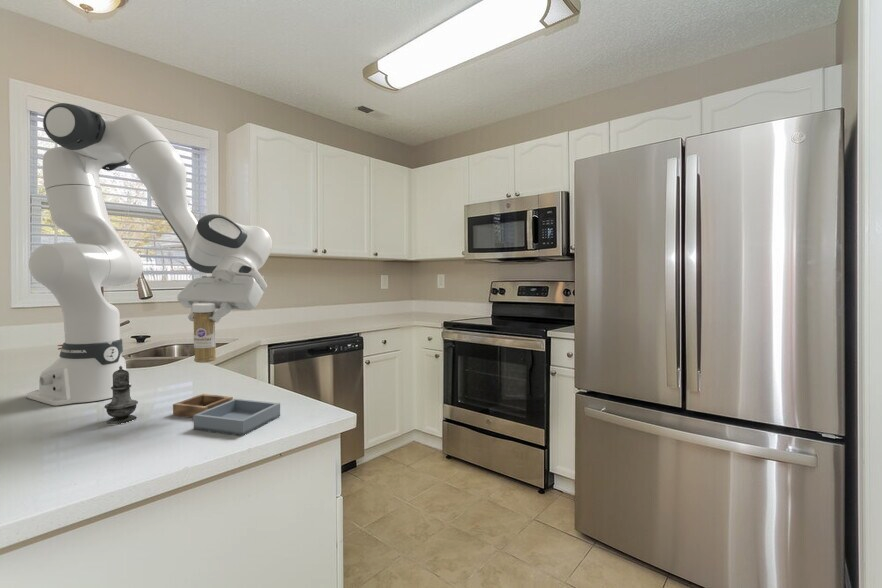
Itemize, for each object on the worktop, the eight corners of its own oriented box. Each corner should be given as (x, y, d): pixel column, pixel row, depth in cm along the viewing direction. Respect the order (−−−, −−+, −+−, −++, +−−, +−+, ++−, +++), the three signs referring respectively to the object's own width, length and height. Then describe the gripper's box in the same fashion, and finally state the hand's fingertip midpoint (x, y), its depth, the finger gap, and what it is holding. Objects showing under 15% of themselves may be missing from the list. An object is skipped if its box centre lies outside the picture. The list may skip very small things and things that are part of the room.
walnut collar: (173, 415, 96) (172, 404, 96) (203, 403, 104) (203, 393, 104) (204, 419, 94) (204, 407, 93) (232, 407, 102) (232, 396, 102)
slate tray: (193, 429, 87) (193, 415, 87) (235, 411, 99) (235, 398, 99) (243, 435, 84) (242, 421, 84) (280, 416, 96) (280, 403, 96)
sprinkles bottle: (193, 364, 95) (190, 304, 94) (195, 359, 99) (193, 302, 98) (216, 362, 97) (214, 303, 96) (217, 357, 101) (215, 302, 100)
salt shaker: (120, 426, 89) (119, 369, 88) (97, 423, 90) (95, 367, 89) (145, 416, 94) (144, 363, 94) (123, 414, 96) (122, 362, 95)
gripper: (191, 267, 106) (156, 309, 97) (261, 268, 101) (232, 313, 92) (205, 285, 111) (174, 326, 102) (273, 286, 106) (246, 330, 97)
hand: (202, 320), depth 97 cm, fingers closed on sprinkles bottle, 4 cm apart
